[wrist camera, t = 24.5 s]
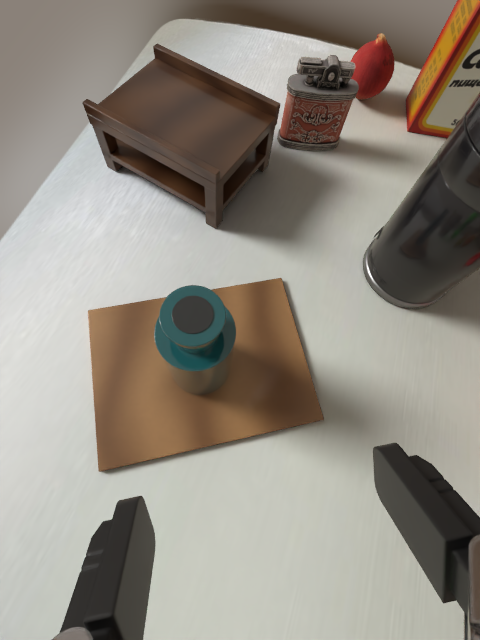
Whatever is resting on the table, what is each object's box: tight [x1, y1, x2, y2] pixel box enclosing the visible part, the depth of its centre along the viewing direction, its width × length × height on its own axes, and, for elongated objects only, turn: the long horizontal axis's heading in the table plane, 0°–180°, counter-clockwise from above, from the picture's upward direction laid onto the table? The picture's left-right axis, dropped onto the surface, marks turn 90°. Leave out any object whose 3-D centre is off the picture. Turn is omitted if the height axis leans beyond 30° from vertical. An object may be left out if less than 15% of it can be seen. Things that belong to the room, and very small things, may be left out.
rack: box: [83, 44, 280, 229], centre depth 39 cm, size 16×12×8 cm
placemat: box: [88, 278, 324, 472], centre depth 33 cm, size 20×15×1 cm
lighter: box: [277, 55, 359, 150], centre depth 41 cm, size 8×3×10 cm, turn 90°
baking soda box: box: [406, 0, 480, 138], centre depth 42 cm, size 10×6×16 cm
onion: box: [351, 33, 394, 100], centre depth 46 cm, size 6×6×8 cm
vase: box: [154, 285, 236, 395], centre depth 27 cm, size 6×6×12 cm
